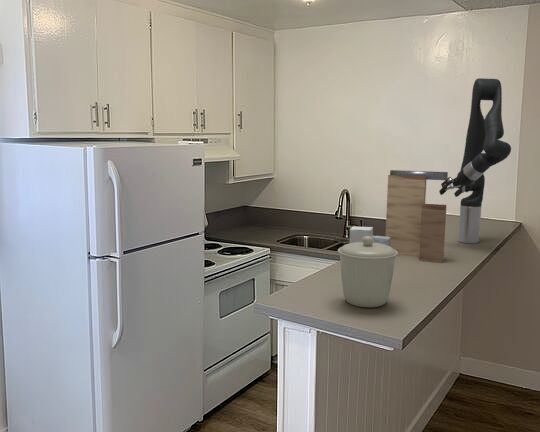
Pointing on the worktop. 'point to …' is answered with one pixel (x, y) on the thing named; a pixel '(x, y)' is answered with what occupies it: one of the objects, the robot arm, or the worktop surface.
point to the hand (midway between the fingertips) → (447, 194)
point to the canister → (367, 272)
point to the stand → (405, 212)
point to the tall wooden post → (432, 232)
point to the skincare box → (360, 233)
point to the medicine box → (382, 240)
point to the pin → (422, 174)
